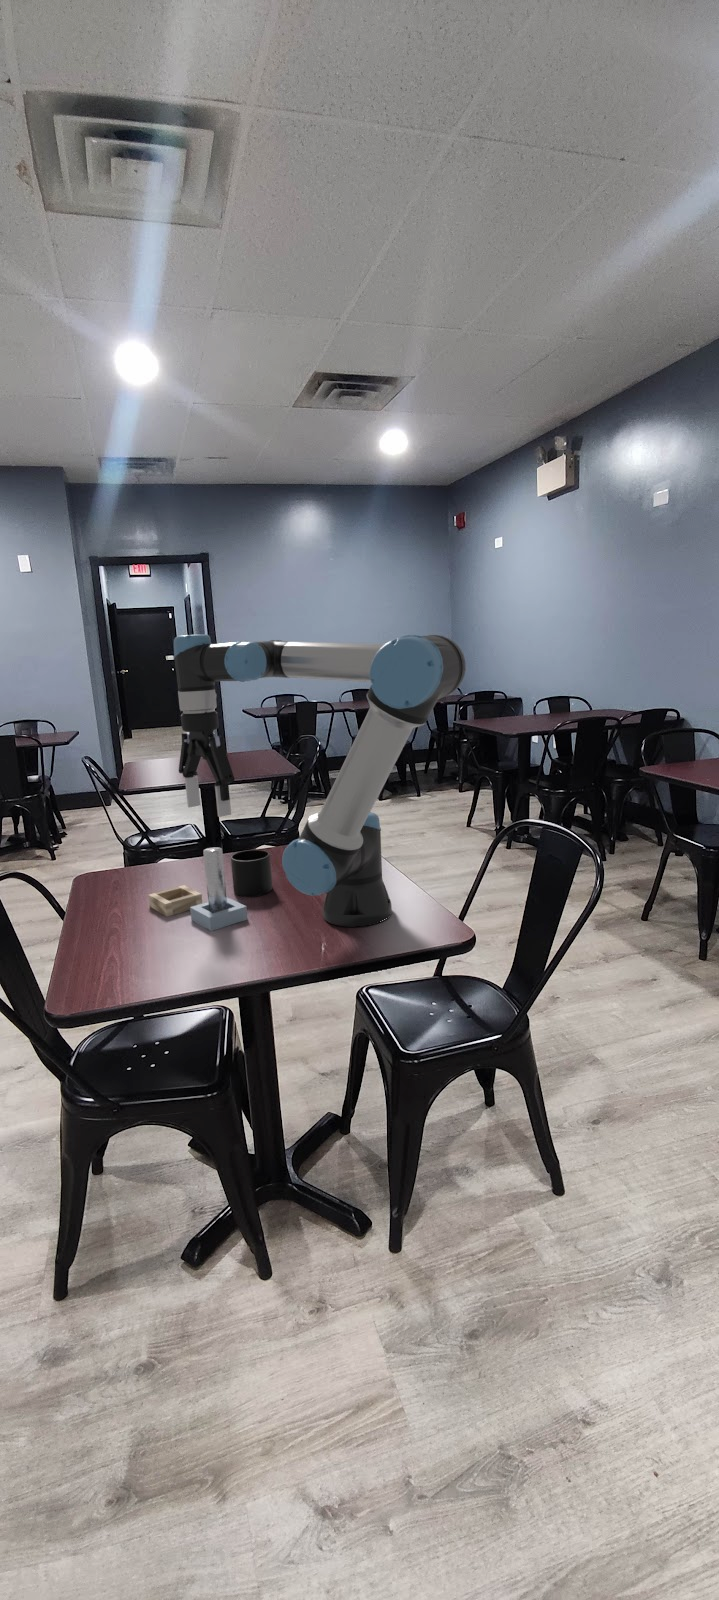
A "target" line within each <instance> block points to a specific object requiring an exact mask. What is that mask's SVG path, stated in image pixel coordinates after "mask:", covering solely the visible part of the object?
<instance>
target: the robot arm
mask: <svg viewBox="0 0 719 1600" xmlns="http://www.w3.org/2000/svg"><path fill="white" fill-rule="evenodd" d="M173 659H174V665H175V671H176V672H175V673H176V681H177V695H178V696H177V697H178V706H179V710H180V712H182V713H181V715H180V721H181V729H182V731H184V732H182V733H181V746H180V747H181V748H180V749H181V750H180V756H179V764H178V773H179V774H182V776H183V778H184V783H185V784H184V785H185V793H186V802H187V803H186V804H187V808H195V807H199V806H201V797H200V796H201V795H200V787H199V777H198V776H199V773H198V771H197V770H198V767H199V764H200V761H201V758H202V759H203V760H205V761H206V763H207V765H208V767H209V770H210V772H211V774H212V775H213V778H214V780H215V782H214V784H213V786H214V791H215V799H216V810H217V811H216V812H217V817H221V818H222V817H226V816H231V815H232V809H231V798H230V797H231V796H230V788H229V787H230V784H231V783H234V782H235V776H234V773H233V770H232V768H231V764H230V760H229V758H228V754H227V751H226V749H225V745H224V739H223V736H222V735H216V736H215V734H214V730H217V729H219V727H220V723H219V714H218V711H216V710H215V709H216V708H217V706H218V705H217V696H218V695H217V693H216V682H242V683H243V682H250V681H257V680H259V679H263V678H265V679H266V678H283V679H285V678H286V679H287V678H288V679H289V678H290V679H307V680H308V679H309V680H322V681H323V680H325V681H326V680H327V681H341V682H343V681H344V682H359V683H361V682H362V683H370V684H371V685H370V687H369V689H368V691H367V693H366V699H367V701H368V704H369V708H368V711H367V713H366V716H364V717H365V718H364V720H363V722H362V724H361V726H360V728H359V730H358V732H357V735H356V737H355V739H354V741H353V743H352V744H351V747H350V749H349V751H348V753H347V755H346V758H345V759H344V762H343V764H342V766H341V768H340V769H339V771H338V774H337V776H336V778H335V780H334V783H333V784H332V787H331V789H330V790H329V793H328V795H327V797H326V799H325V801H324V803H323V806H322V808H321V810H320V811H318V812H314V813H312V814H310V816H309V817H308V819H307V820H306V823H305V825H304V827H303V829H302V832H301V834H300V835H299V837H298V838H297V839H294V840H292V841H291V842H289V844H287V845H286V847H285V849H284V851H283V853H282V858H281V865H282V869H283V871H284V873H285V877H286V879H287V881H288V882H289V883H290V885H292V887H293V888H294V889H296V890H297V891H298V892H300V893H302V894H304V895H307V896H312V897H313V896H321V895H323V894H325V897H324V901H323V904H322V917H323V919H324V921H326V922H328V923H329V924H331V925H334V926H335V925H336V926H337V927H338V926H339V927H346V928H348V927H349V928H353V927H354V928H357V927H356V926H361V927H366V926H365V925H369V926H371V925H370V924H373V925H375V924H374V923H377V922H380V921H382V920H384V919H386V918H388V917H389V916H390V915H391V916H392V914H391V913H392V912H393V911H392V910H393V909H392V908H393V907H392V901H391V899H390V896H389V894H388V893H389V892H388V890H387V888H386V885H385V882H384V881H383V865H382V864H383V863H382V861H383V860H382V840H381V838H382V836H381V831H382V828H381V825H380V817H379V815H377V814H376V813H374V812H372V810H373V808H374V805H375V803H376V801H377V799H378V798H379V796H380V794H381V792H382V790H383V789H384V786H385V784H386V782H387V780H388V778H389V776H390V774H391V773H392V770H393V768H394V766H395V765H396V762H397V761H398V759H399V757H400V755H401V753H402V751H403V750H404V749H403V748H404V747H405V746H406V743H407V741H408V740H409V737H410V736H411V734H412V731H413V729H415V728H419V727H423V726H424V725H425V724H426V723H427V722H428V719H429V717H430V715H431V714H432V712H433V710H434V708H435V706H436V704H437V703H438V700H441V699H443V698H446V697H449V696H450V695H452V694H453V693H454V692H455V691H456V690H458V689H459V688H460V686H461V684H462V683H463V680H464V678H465V675H466V668H467V667H466V666H467V664H466V658H465V655H464V652H463V651H462V649H461V647H460V646H459V645H458V644H457V643H456V642H455V641H453V640H452V639H451V638H449V637H446V636H444V635H438V634H428V635H416V634H411V635H410V634H408V635H404V636H402V635H401V636H400V637H397V638H394V639H392V640H389V641H388V642H386V643H366V642H365V643H364V642H363V643H362V642H361V643H360V642H358V643H357V642H330V641H329V642H328V641H327V642H325V641H324V642H323V641H322V642H320V641H285V640H280V639H279V640H278V639H275V640H274V639H271V640H265V641H264V640H263V641H247V640H245V641H236V642H222V643H213V642H212V640H211V636H210V635H209V634H205V633H204V634H186V635H184V634H183V635H177V636H176V637H174V639H173ZM391 916H390V917H391ZM390 917H389V918H390ZM389 918H388V919H389ZM386 920H387V919H386ZM382 922H383V921H382ZM380 923H381V922H380ZM377 924H378V923H377Z"/></svg>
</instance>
